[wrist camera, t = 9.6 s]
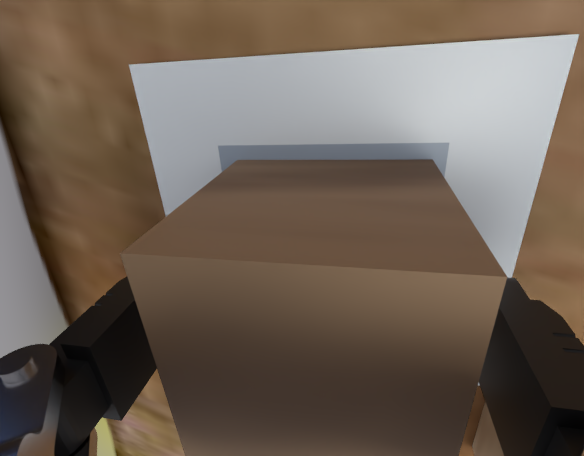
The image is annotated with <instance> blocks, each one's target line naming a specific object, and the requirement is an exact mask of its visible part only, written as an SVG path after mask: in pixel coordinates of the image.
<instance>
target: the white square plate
mask: <svg viewBox="0 0 584 456" xmlns="http://www.w3.org/2000/svg"><path fill="white" fill-rule="evenodd" d="M578 37H579V34H573V35H558V36H543V37H528V38H514V39H499V40H484V41H470V42H455V43H440V44H426V45H411V46H396V47H382V48H367V49H352V50H337V51H323V52H308V53H293V54H279V55H264V56H249V57H235V58H220V59H205V60H191V61H176V62H161V63H146V64H132V65H129V67H130V71H131V75H132V80H133V84H134V88H135V92H136V96H137V100H138V104H139V108H140V112H141V117H142V121H143V125H144V129H145V133H146V137H147V141H148V145H149V149H150V154H151V158H152V162H153V166H154V170H155V174H156V178H157V182H158V186H159V191H160V195H161V199H162V203H163V207H164V211H165V215H166V216H167V215H169V214H170V213H171V212H173V211H174V210H175V209H176V208H178V207H179V206H180V205H181V204H183V203H184V202H185V201H186V200H188V199H189V198H190V197H191V196H193V195H194V194H195V193H196V192H198V191H199V190H200V189H201V188H203V187H204V186H205V185H206V184H208V183H209V182H210V181H211V180H213V179H214V178H215V177H217V176H218V175H219V174H220V173H222V172H223V171H224V170H225V169H227V168H228V167H229V166H230V165H232V164H233V163H234V162H235V161H237V160H411V159H433V161H434V162H435V164H436V165H437V167H438V169H439V170H440V172H441V173H442V175H443V176H444V178H445V180H446V181H447V183H448V184H449V186H450V187H451V189H452V191H453V192H454V194H455V195H456V197H457V199H458V200H459V202H460V203H461V205H462V206H463V208H464V210H465V211H466V213H467V214H468V216H469V217H470V219H471V221H472V222H473V224H474V225H475V227H476V228H477V230H478V232H479V233H480V235H481V236H482V238H483V240H484V241H485V243H486V244H487V246H488V247H489V249H490V251H491V252H492V254H493V255H494V257H495V258H496V260H497V262H498V263H499V265H500V266H501V268H502V269H503V271H504V273H505V274H506V276H507V277H509V278H512V275H513V271H514V268H515V264H516V261H517V257H518V253H519V250H520V246H521V243H522V239H523V235H524V232H525V228H526V224H527V221H528V217H529V214H530V210H531V206H532V203H533V199H534V196H535V192H536V188H537V185H538V181H539V178H540V174H541V170H542V167H543V163H544V160H545V156H546V152H547V149H548V145H549V141H550V138H551V134H552V131H553V127H554V123H555V120H556V116H557V113H558V109H559V105H560V102H561V98H562V95H563V91H564V87H565V84H566V80H567V76H568V73H569V69H570V66H571V62H572V58H573V55H574V51H575V48H576V44H577V40H578ZM478 385H479V386H480V384H479V382H478Z"/></svg>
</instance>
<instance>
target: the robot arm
mask: <svg viewBox="0 0 584 456" xmlns="http://www.w3.org/2000/svg"><path fill="white" fill-rule="evenodd" d="M156 369H157V366H156V363H155V360H154V357H153V354H152V351H151V348H150V345H149V342H148V339H147V335H146V332H145V329H144V326H143V323H142V320H141V317H140V314H139V311H138V308H137V305H136V302H135V298H134V295H133V292H132V289H131V286H130V283H129V280H128V277H126V278H124V279H122V280H120V281H119V282H118V283H116V284H115V285H114V286H113V287H112V288H111V289H110V290H109V291H108V292H107V293H106V295H103V296H102V297H101V298H100V299H99V300H98V301H97V302H95V306H91V307H90V308H89V309H88V310H87V311H86V312H84V313H83V314H82V315H81V316H80V317H79V318H78V319H77V320H76V321H74V322H73V323H72V324H71V325H70V326H69V327H68V328H67V329H66V330H65V331H63V332H62V333H61V334H60V335H59V336H58V337H57V338H56V339H55V340H54V341H52V342H51V343H50V344H49V345H48V344H35V345H30V346H26V347H23V348H20V349H17V350H15V351H13V352H11V353H9V354H7V355H5V356H3V357H2V358H0V456H97V432H96V430H95V426H96V424H97V423H98V422H99V420H100V419H101V418H102V417H103V418H109V419H114V420H120V421H122V419H123V418H124V416H125V415H126V413H127V412H128V410H129V409H130V407H131V406H132V404H133V403H134V401H135V400H136V398H137V397H138V395H139V394H140V392H141V391H142V389H143V388H144V387H145V385H146V384H147V382H148V381H149V379H150V378H151V376H152V375H153V373H154V372H155V370H156ZM479 384H480V387H481V390H482V393H483V396H484V399H485V402H486V404H487V407H488V410H489V413H490V416H491V419H492V422H493V425H494V428H495V431H496V434H497V437H498V440H499V442H500V445H501V448H502V451H503V454H504V456H584V346H583V344H582V343H581V342H580V340H579V339H578V338H575V334H574V332H573V331H572V330H571V328H570V327H569V326H568V324H567V323H566V322H565V320H564V319H563V317H562V316H561V315H559V314H558V313H556V312H555V311H554V310H552V309H551V308H550V307H548V306H547V305H546V304H544V303H543V302H542V301H540V300H530V299H529V298H528V296H527V295H526V293H525V292H524V290H523V289H522V287H521V286H520V284H519V283H518V281H517V280H516V279H515V278H509V277H507V280H506V283H505V287H504V291H503V294H502V298H501V302H500V305H499V309H498V313H497V316H496V320H495V324H494V327H493V331H492V335H491V338H490V342H489V346H488V349H487V353H486V357H485V360H484V364H483V368H482V371H481V375H480V379H479Z"/></svg>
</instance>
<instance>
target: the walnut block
mask: <svg viewBox="0 0 584 456" xmlns="http://www.w3.org/2000/svg"><path fill="white" fill-rule="evenodd" d="M120 255H121V258H122V261H123V264H124V268H125V271H126V274H127V277H128V280H129V283H130V286H131V289H132V292H133V295H134V298H135V302H136V305H137V308H138V311H139V314H140V317H141V320H142V323H143V326H144V329H145V332H146V335H147V339H148V342H149V345H150V348H151V351H152V354H153V357H154V360H155V363H156V366H157V369H158V373H159V376H160V379H161V382H162V385H163V388H164V391H165V394H166V397H167V400H168V403H169V406H170V410H171V413H172V416H173V419H174V422H175V425H176V428H177V431H178V434H179V437H180V440H181V444H182V447H183V450H184V453H185V456H459V452H460V448H461V445H462V441H463V437H464V434H465V430H466V426H467V423H468V419H469V415H470V412H471V408H472V404H473V401H474V397H475V393H476V390H477V386H478V382H479V379H480V375H481V371H482V368H483V364H484V360H485V357H486V353H487V349H488V346H489V342H490V338H491V335H492V331H493V327H494V324H495V320H496V316H497V313H498V309H499V305H500V302H501V298H502V294H503V291H504V287H505V283H506V280H507V276H506V274H505V273H504V271H503V269H502V268H501V266H500V265H499V263H498V262H497V260H496V258H495V257H494V255H493V254H492V252H491V251H490V249H489V247H488V246H487V244H486V243H485V241H484V240H483V238H482V236H481V235H480V233H479V232H478V230H477V228H476V227H475V225H474V224H473V222H472V221H471V219H470V217H469V216H468V214H467V213H466V211H465V210H464V208H463V206H462V205H461V203H460V202H459V200H458V199H457V197H456V195H455V194H454V192H453V191H452V189H451V187H450V186H449V184H448V183H447V181H446V180H445V178H444V176H443V175H442V173H441V172H440V170H439V169H438V167H437V165H436V164H435V162H434V161H433V159H411V160H237V161H235V162H234V163H233V164H232V165H230V166H229V167H228V168H227V169H225V170H224V171H223V172H222V173H220V174H219V175H218V176H217V177H215V178H214V179H213V180H211V181H210V182H209V183H208V184H206V185H205V186H204V187H203V188H201V189H200V190H199V191H198V192H196V193H195V194H194V195H193V196H191V197H190V198H189V199H188V200H186V201H185V202H184V203H183V204H181V205H180V206H179V207H178V208H176V209H175V210H174V211H173V212H171V213H170V214H169V215H167V216H166V217H165V218H164V219H162V220H161V221H160V222H159V223H157V224H156V225H155V226H154V227H152V228H151V229H150V230H149V231H147V232H146V233H145V234H144V235H142V236H141V237H140V238H139V239H137V240H136V241H135V242H134V243H132V244H131V245H130V246H129V247H127V248H126V249H125V250H123V251H122V252H121V253H120Z"/></svg>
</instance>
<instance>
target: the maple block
mask: <svg viewBox="0 0 584 456" xmlns="http://www.w3.org/2000/svg"><path fill="white" fill-rule="evenodd" d="M472 448H473V452H474V456H504V454H503V451H502V448H501V445H500V442H499V440H498V437H497V434H496V431H495V428H494V425H493V422H492V419H491V416H490V413H489V410H488V407H487V404H486V402H485V404H484V407H483V411H482V414H481V418H480V421H479V424H478V428H477V431H476V434H475V438H474V441H473V445H472Z"/></svg>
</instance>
